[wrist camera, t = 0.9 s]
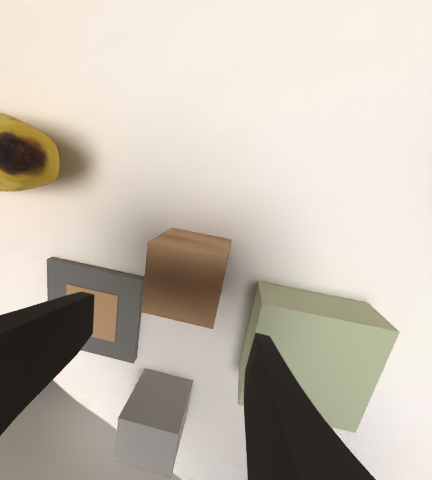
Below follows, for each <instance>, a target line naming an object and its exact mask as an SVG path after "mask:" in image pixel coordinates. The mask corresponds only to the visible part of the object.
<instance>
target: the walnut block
mask: <svg viewBox="0 0 432 480" xmlns="http://www.w3.org/2000/svg"><path fill="white" fill-rule="evenodd" d="M230 244H231V240H230V239H225V238H220V237H215V236H210V235H205V234H200V233H195V232H190V231H185V230H180V229H175V228H172V229H170V230H169V231H167V232H165V233H163V234H161V235H160V236H158V237H156V238H154V239H153V240H151V241H149V242H148V248H147V258H146V268H145V278H144V288H143V298H142V307H141V312H143V313H147V314H151V315H156V316H160V317H164V318H168V319H173V320H177V321H181V322H186V323H190V324H194V325H198V326H203V327H207V328H211V329H213V326H214V322H215V317H216V312H217V308H218V303H219V298H220V294H221V289H222V284H223V279H224V274H225V269H226V264H227V259H228V254H229V249H230Z"/></svg>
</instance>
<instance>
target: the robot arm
mask: <svg viewBox="0 0 432 480" xmlns="http://www.w3.org/2000/svg"><path fill="white" fill-rule="evenodd" d="M94 298H95V294H91V293H86V292H77V293H73V294H70V295H66V296H63V297H59V298H56V299H53V300H50V301H46V302H43V303H40V304H37V305H33V306H30V307H27V308H24V309H20V310H17V311H13V312H10V313H6V314H3V315H0V435H1V434H2V433H3V432H4V431H5V430H6V429H7V427H8V426H9V425H10V424H11V423H12V421H13V420H14V419H15V418H16V417H17V416H18V415H19V414H20V413H21V412H22V411H23V409H24V408H25V407H26V406H27V405H28V404H29V403H30V402H31V401H32V400H33V399H34V398H35V397H36V396H37V395H38V394H39V393H40V392H41V391H42V390H43V389H44V388H45V387H46V386H47V385H48V384H49V383H50V382H51V381H52V380H53V379H54V378H55V377H56V376H57V375H58V374H59V373H60V372H61V371H62V370H63V368H64V367H65V366H66V365H67V364H68V363H69V362H70V361H71V360H72V359H73V358H74V357H75V356H76V355H77V354H78V352H79V351H80V350H81V349H82V347H83V346H84V345H85V343H86V342H87V341H88V339H89V338H90V337H91V335H92V334H93V320H94ZM244 416H245V434H246V452H247V469H248V480H376V479H375V478H374V477H373V476H372V475H371V474H370V473H369V472H368V471H367V469H366V468H365V467H364V466H363V465H362V464H361V463H360V462H359V461H358V459H357V458H356V457H355V456H354V455H353V454H352V452H351V451H350V450H349V449H348V448H347V447H346V445H345V444H344V443H343V442H342V441H341V439H340V438H339V437H338V436H337V434H336V433H335V432H334V431H333V429H332V428H331V427H330V426H329V424H328V423H327V422H326V421H325V419H324V418H323V417H322V415H321V414H320V413H319V411H318V410H317V409H316V407H315V406H314V405H313V403H312V402H311V400H310V399H309V398H308V396H307V395H306V393H305V392H304V390H303V389H302V388H301V386H300V385H299V383H298V381H297V380H296V378H295V377H294V375H293V374H292V372H291V370H290V369H289V367H288V366H287V364H286V362H285V361H284V359H283V357H282V356H281V354H280V352H279V351H278V349H277V347H276V345H275V344H274V342H273V340H272V339H271V337H270V336H268V335H264V334H259V333H255V336H254V339H253V343H252V347H251V350H250V354H249V358H248V362H247V365H246V369H245V378H244Z"/></svg>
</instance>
